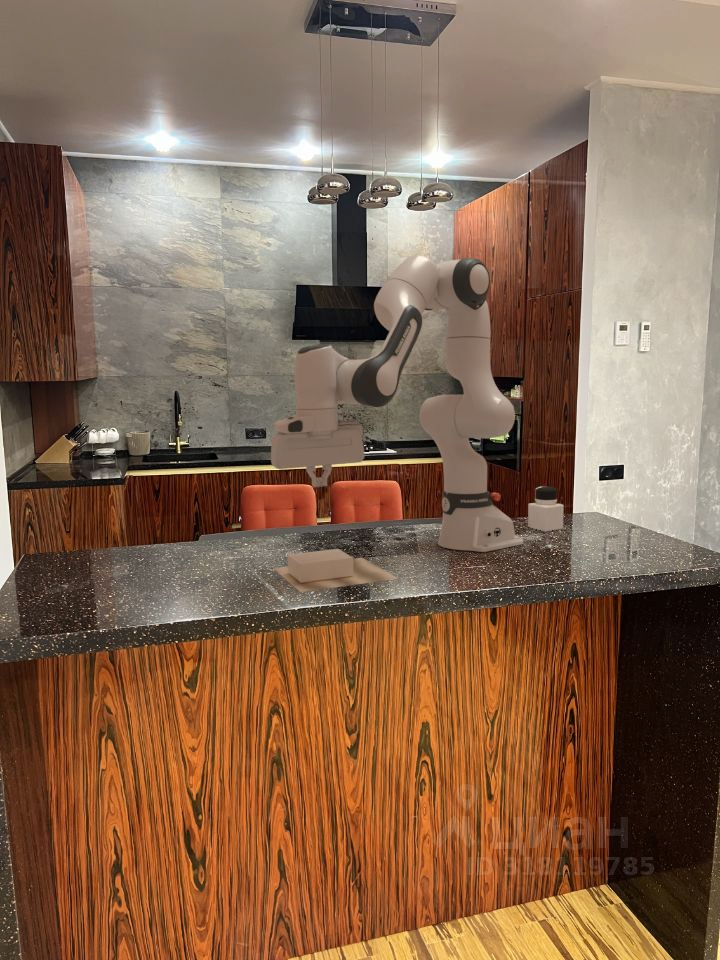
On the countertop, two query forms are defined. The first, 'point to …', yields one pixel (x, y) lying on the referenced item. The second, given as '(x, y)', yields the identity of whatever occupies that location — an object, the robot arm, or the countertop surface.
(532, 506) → the medicine bottle
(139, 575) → the countertop surface
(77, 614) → the countertop surface
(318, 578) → the block
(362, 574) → the cloth
